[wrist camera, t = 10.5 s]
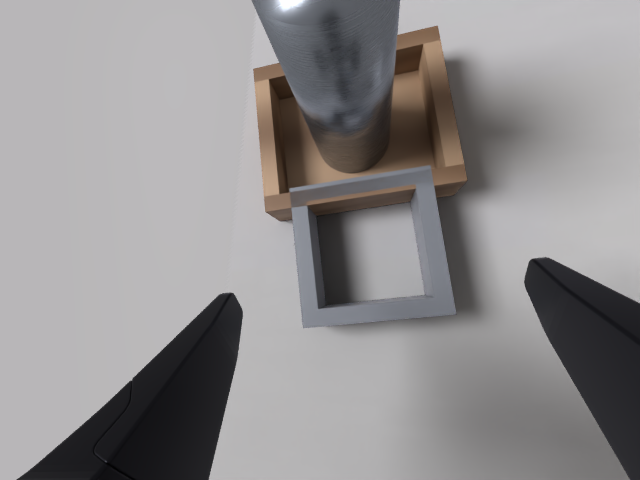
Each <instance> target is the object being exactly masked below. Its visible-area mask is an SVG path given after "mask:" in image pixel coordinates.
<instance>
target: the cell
mask: <svg viewBox="0 0 640 480" xmlns="http://www.w3.org/2000/svg"><path fill="white" fill-rule="evenodd" d="M252 2H253V4H254V6H255V9H256V11H257V13H258V16H259V18H260V20H261V22H262V25H263V27H264V29H265V31H266V34H267V36H268V38H269V40H270V43H271V45H272V47H273V49H274V52H275V54H276V56H277V58H278V61H279V63H280V65H281V67H282V70H283V72H284V74H285V76H286V79H287V81H288V83H289V85H290V88H291V90H292V92H293V94H294V97H295V99H296V101H297V103H298V106H299V108H300V110H301V112H302V115H303V117H304V119H305V121H306V124H307V126H308V128H309V130H310V133H311V135H312V137H313V139H314V142H315V144H316V146H317V148H318V151H319V153H320V155H321V157H322V159H323V160H324V161H325V163H326V164H328V165H329V166H330V167H331V168H333V169H335V170H337V171H340V172H344V173H358V172H362V171H365V170H367V169H369V168H371V167H373V166H374V165H375V164H377V163H378V162H379V161H380V160H381V158H382V157H383V156H384V154H385V153H386V150H387V148H388V145H389V139H390V126H391V112H392V99H393V86H394V72H395V59H396V46H397V32H398V19H399V6H400V0H252Z"/></svg>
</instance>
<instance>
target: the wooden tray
mask: <svg viewBox="0 0 640 480" xmlns="http://www.w3.org/2000/svg"><path fill="white" fill-rule="evenodd" d="M253 70H254V82H255V93H256V105H257V117H258V129H259V141H260V153H261V165H262V177H263V189H264V201H265V212H266V213H268V214H270V215H271V216H273V217H274V218H276V219H277V220H279V221H284V220H291V219H292V210H291V208H292V206H291V204H292V202H291V200H292V201H293V198H292V194H293V193H294V192H290V190H289V188H295V187H301V186H307V185H313V184H319V183H325V182H331V181H337V180H343V179H349V178H355V177H361V176H367V175H373V174H379V173H385V172H391V171H397V170H403V169H409V168H415V167H421V166H428V165H430V166H431V171H432V177H433V183H434V189H435V194H436V198H439V197H445V196H452V195H455V193H456V192H457V191H458V190H459V189H460V188H461V187H462V186H463V185H464V184H465V183H466V182H467V176H466V171H465V165H464V160H463V155H462V150H461V145H460V139H459V134H458V129H457V124H456V119H455V113H454V108H453V103H452V98H451V93H450V87H449V82H448V77H447V72H446V66H445V61H444V56H443V51H442V46H441V40H440V35H439V30H438V26H434V27H430V28H425V29H421V30H417V31H413V32H408V33H404V34H400V35H397V46H396V59H395V72H394V86H393V99H392V112H391V126H390V139H389V145H388V148H387V150H386V153H385V154H384V156H383V157H382V158H381V160H380V161H379V162H378V163H377V164H375V165H374V166H373V167H371V168H369V169H367V170H365V171H362V172H358V173H344V172H340V171H337V170H335V169H333V168H331V167H330V166H329V165H328V164H326V163H325V161H324V160H323V159H322V157H321V155H320V153H319V151H318V148H317V146H316V144H315V142H314V139H313V137H312V135H311V133H310V130H309V128H308V126H307V124H306V121H305V119H304V117H303V115H302V112H301V110H300V108H299V106H298V103H297V101H296V99H295V97H294V94H293V92H292V90H291V88H290V85H289V83H288V81H287V79H286V76H285V74H284V72H283V70H282V67H281V65H280V63H277V64H272V65H268V66H264V67H260V68H255V69H253ZM421 172H422V171H421ZM415 173H416V172H415ZM423 173H424V172H423ZM423 173H421V174H423ZM405 174H406V173H405ZM407 175H409V176H410V174H408V173H407ZM418 175H419V174H418ZM411 176H412V175H411ZM393 177H394V175H393ZM395 177H396V176H395ZM401 177H402V175H401ZM404 177H406V175H405V176H404ZM420 177H421V175H420ZM422 177H423V176H422ZM426 177H427V176H426ZM426 177H425V178H426ZM381 178H382V177H381ZM381 178H380V179H381ZM391 178H392V177H391ZM377 179H378V178H377ZM380 179H379V180H380ZM384 179H386V178H384ZM384 179H383V180H384ZM387 179H388V178H387ZM389 179H390V178H389ZM393 179H394V178H393ZM395 179H396V178H395ZM395 179H394V180H393V181H395ZM400 179H401V178H400ZM405 179H406V178H405ZM407 179H409V177H408V178H407ZM407 179H406V180H407ZM418 179H419V178H418ZM427 179H428V177H427ZM383 180H380V181H379V183H380V182H382V181H383ZM367 181H370V179H368V180H367ZM385 181H386V180H385ZM385 181H384V182H385ZM393 181H392V183H393ZM356 182H359V181H356ZM363 182H364V181H363ZM371 182H373V181H371ZM371 182H369V183H371ZM386 182H387V181H386ZM400 182H401V180H400ZM405 182H406V181H405ZM413 182H414V180H413ZM418 182H419V181H418ZM425 182H426V183H427V181H425ZM350 183H351V185H352V182H350ZM350 183H349V186H350ZM354 183H355V182H353V186H354ZM364 183H365V184H366V188H367V185H368V184H369V183H368V182H367V183H366V182H364ZM373 183H374V182H373ZM373 183H372V184H373ZM379 183H378V184H379ZM394 183H395V182H394ZM396 183H397V181H396ZM414 183H416V180H415V182H414ZM344 184H345V183H344ZM344 184H343V185H342V184H341V188H337V189H343V188H344V187H345V188H346V184H345V186H344ZM355 184H356V185H357V186H358V185H360V182H359V184H358V183H355ZM361 184H362V183H361ZM386 184H387V183H386ZM386 184H384V185H386ZM390 184H391V183H390ZM390 184H389V186H390ZM397 184H398V183H397ZM400 184H401V183H400ZM400 184H399V185H400ZM403 184H404V183H403ZM409 184H410V183H409ZM356 185H355V186H356ZM363 185H364V184H363ZM370 185H371V184H370ZM387 185H388V184H387ZM332 186H333V185H332ZM332 186H331V187H330V186H328V188H332V189H334V190H335V189H336V188H333V187H334V186H333V187H332ZM338 186H340V185H339V184H338ZM338 186H337V187H338ZM349 186H348V187H349ZM353 186H352V187H353ZM355 186H354V187H353V188H354V189H355ZM378 186H380V185H378ZM326 187H327V186H326ZM373 187H374V188H373ZM376 187H377V186H375V184H374V186H372V188H373V191H372V188H370V189H371V191H369V192H366V191H367V190H365V191H364V192H363V193H357V194H356V192H358V190H360V188H361V185H360V188H358V187H357V188H358V189H357V188H356V190H357V191H355V194H354V193H352V192H351V194H350V192H349V188H348V191H347V188H346V191H344V190H345V188H344V190H343V191H344V192H349V193H347V194H349V195H347V194H346V193H345V194H346V195H344V196H338V197H337V196H335V197H334V195H335V193H337V192H338V190H337V191H336V192H335V191H332V192H334V194H333V193H332V194H333V195H331V194H330V193H331V190H332V189H331V190H330V192H329V191H328V190H327V191H326V192H329V193H328V194H330V195H331V198H330V197H329V198H326V197H327V196H326V197H325V199H324V198H322V199H320V198H321V197H322V196H323V197H324V196H325V195H326V194H327V193H326V194H324V195H323V193H325V192H324V190H323V193H322V194H320V192H322V191H320V190H317V189H320V188H314V189H315V190H314V189H312V190H314V191H317V192H314V193H317V194H316V196H317V195H318V196H317V198H318V197H319V196H321V197H319V200H318V199H317V200H315V199H313V197H314V196H313V195H312V194H313V192H312V193H310V192H309V194H310V195H312V196H313V197H312V196H310V198H311V200H309V201H308V199H310V198H309V194H308V193H307V195H306V193H305V190H304V191H303V193H302V191H300V193H301V196H302V194H303V195H304V193H305V195H304V196H306V197H305V198H306V200H304V198H302V199H301V198H300V200H304V201H305V202H306V203H305V202H304V203H305V204H306V206H308V207H309V208H310V209H311V210H312V212H313V213H314V214H315V215H316V216H318V215H325V214H331V213H338V212H345V211H351V210H358V209H365V208H371V207H378V206H385V205H392V204H398V203H405V202H410V201H411V199H412V197H413V194H414V192H415V190H416V185H415V184H414V185H408V186H404V185H401V187H398V186H397V187H395V188H388V189H386V188H385V189H382V188H383V187H382V188H381V189H382V190H380V189H379V190H378V189H377V188H376ZM386 187H387V186H386ZM322 188H323V189H324V187H322ZM328 188H327V189H328ZM353 188H352V189H353ZM364 188H365V186H364ZM364 188H363V187H362V188H361V192H362V190H364ZM366 188H365V189H366ZM354 189H353V190H354ZM374 189H377V190H375V191H374ZM310 190H311V189H310ZM310 190H306V191H307V192H308V191H310ZM353 190H352V191H353ZM318 191H319V192H318ZM296 192H297V191H296ZM298 192H299V191H298ZM298 192H297V193H298ZM359 192H360V191H359ZM300 193H299V194H297V195H296V193H294V194H293V197H294V201H293V204H295V203H294V202H297V203H298V201H299V203H300V205H299V204H298V206H299V207H300V206H301V205H302V206H304V205H305V204H304V203H303V204H304V205H303V204H302V202H303V201H300V200H299V199H297V198H299V197H297V196H298V195H300ZM318 193H319V194H318ZM342 193H343V192H342ZM290 194H291V195H290ZM343 194H344V193H343ZM294 195H295V196H294ZM314 195H315V194H314ZM337 195H338V194H337ZM339 195H340V193H339ZM341 195H342V194H341ZM290 196H291V198H290ZM301 196H300V197H301ZM304 196H303V197H304ZM295 197H296V199H297V200H298V201H297V200H296V199H295ZM307 198H308V199H307ZM290 199H291V200H290ZM295 200H296V201H295ZM293 204H292V205H293ZM296 205H297V204H295V206H296ZM298 206H296V207H298ZM293 207H294V205H293Z"/></svg>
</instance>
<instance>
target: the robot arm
mask: <svg viewBox="0 0 640 480" xmlns="http://www.w3.org/2000/svg"><path fill="white" fill-rule="evenodd" d="M524 283H525V288H526V290H527V292H528V295H529V297H530V299H531V301H532V304H533V306H534V308H535V311H536V313H537V315H538V318H539V320H540V322H541V324H542V327H543V329H544V331H545V333H546V335H547V337H548V339H549V341H550V343H551V344H552V346H553V348H554V349H555V351H556V353H557V355H558V356H559V358H560V360H561V362H562V363H563V365H564V367H565V368H566V370H567V372H568V374H569V375H570V377H571V379H572V380H573V382H574V384H575V386H576V387H577V389H578V391H579V392H580V394H581V396H582V398H583V399H584V401H585V403H586V404H587V406H588V408H589V410H590V411H591V413H592V415H593V416H594V418H595V420H596V422H597V423H598V425H599V427H600V429H601V430H602V432H603V434H604V435H605V437H606V439H607V441H608V442H609V444H610V446H611V447H612V449H613V451H614V453H615V454H616V456H617V458H618V459H619V461H620V463H621V465H622V466H623V468H624V470H625V471H626V473H627V475H628V477H629V478H630V480H640V303H638V302H636V301H634V300H632V299H630V298H628V297H626V296H624V295H622V294H620V293H618V292H616V291H614V290H612V289H610V288H608V287H606V286H604V285H602V284H600V283H598V282H596V281H594V280H592V279H590V278H588V277H586V276H584V275H582V274H580V273H578V272H576V271H574V270H572V269H570V268H568V267H566V266H564V265H562V264H560V263H558V262H556V261H554V260H552V259H550V258H547V257H543V258H534V259H531V260H530V261H529V264H528V268H527V271H526V275H525V280H524ZM242 318H243V311H242V308H241V306H240V304H239V302H238V300H237V298H236V296H235V295H234V294H233V293H223V294H220V295H219V296H218V297H216V299H214V300H213V301H212V302H211V303H210V304H209V305H208V306H207V307H206V308H205V309H204V310H203V311H202V312H201V313H200V314H199V315H198V316H197V317H196V318H195V319H194V320H193V321H192V322H191V323H190V324H189V325H188V326H187V327H185V329H183V330H182V331H181V332H180V333H179V334H178V335H177V336H176V337H175V338H174V339H173V340H172V341H171V342H170V343H169V344H168V345H167V346H166V347H165V348H164V349H163V350H162V351H161V352H160V353H159V354H158V355H157V356H155V357H154V358H153V359H152V360H151V361H150V362H149V363H148V364H147V365H146V366H145V367H144V368H143V369H142V370H141V371H140V372H139V373H138V374H137V375H136V376H135V377H134V378H133V379H132V381H129V383H127V384H126V385H125V386H124V387H123V388H122V389H121V390H120V391H119V392H118V393H117V394H116V395H115V396H114V397H113V398H112V399H111V400H110V401H108V403H106V404H105V405H104V406H103V407H102V408H101V409H100V410H99V411H98V412H97V413H95V414H94V415H93V416H92V417H91V418H90V419H89V420H87V421H86V422H85V423H84V424H83V425H82V426H81V427H80V428H78V429H77V430H76V431H75V432H74V433H72V434H71V435H70V436H69V437H68V438H67V439H66V440H64V441H63V442H62V443H61V444H60V445H58V446H57V447H56V448H55V449H54V450H53V451H52V452H50V453H49V454H48V455H47V456H46V457H45V458H43V459H42V460H41V461H40V462H39V463H38V464H36V465H35V466H34V467H33V468H32V469H30V470H29V471H28V472H27V473H25V474H24V475H22V476H21V477H20V478H18V479H17V480H209V476H210V471H211V467H212V463H213V459H214V455H215V450H216V446H217V442H218V438H219V434H220V429H221V425H222V421H223V417H224V413H225V408H226V404H227V400H228V396H229V392H230V387H231V383H232V379H233V375H234V371H235V366H236V362H237V356H238V350H239V342H240V334H241V326H242Z"/></svg>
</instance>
